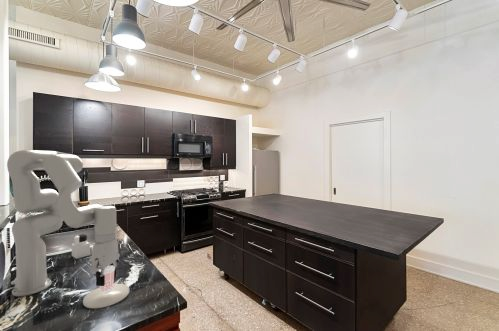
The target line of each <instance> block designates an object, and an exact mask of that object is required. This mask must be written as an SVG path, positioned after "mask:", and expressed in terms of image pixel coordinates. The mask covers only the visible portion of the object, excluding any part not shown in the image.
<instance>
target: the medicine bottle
mask: <svg viewBox="0 0 499 331" xmlns="http://www.w3.org/2000/svg"><path fill="white" fill-rule="evenodd" d="M73 240H74V242H73V243H71V256H72V257H73V258H74V259H76V260H77V259H81V258H84V257H87V256H91V243H90V242H88V235H87V234H85V233H84V234H83V233H82V234H81V233H80V234H77V235H75V236H74V239H73Z"/></svg>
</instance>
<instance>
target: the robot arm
mask: <svg viewBox="0 0 499 331" xmlns="http://www.w3.org/2000/svg"><path fill="white" fill-rule="evenodd" d="M7 159H8V160H7V163H6V166H7V171H8V174H9V176H10V179H11V182H12V183H11V184H12V192H13V202H14V207H15V210H16V212H18V213H19V214H31V213H35V212H40V211H41V212H42V213H37V214H32V215H28V216H23V217H21V218H18V219H17V220H16V221H14V222H13V224H12V226H11V232H12V235H13V240H14V244H15V256H16V258H15V261H16V267H15V268H16V277H15V278H14V280H12V281H11V282H10V284H11V285H14V288H13V289H12V290H11V295H12V296H14V297H25V296H30V295H34V294H37V293H39V292H41V291H44V290H46V289H48V288H49V287H50V286H51V285H52V280H51V279H50V278H47V277H48V274H47V272H48V271H47V245H46V243H45V241H44V240H43V239H42V238H41V237H42V236H44V235H47V234H50V233H53V232H56V231H58V230H60V229H61V227H62V225H63V222H64V224H66V225H67V226H68V227H70V228H74V229H77V228H78V229H79V228H81V227H85V226H88V225H91V224H94V243H93V245H92V249H91V268H90V273H91V274H93V276H94V277H95V285H96V287H100V286H104V285H105V275H103V274H104V270H105V268H106V267H107V266H115V270H114V278H116V277H117V267H118V263H119V259H120V257H121V254H120V253H119V243H118V236H117V234H118V233H117V231H118V230H117V208H116V206H113V205H102V204H97V203H95V204H89V205H85V206H79V207H77V206H76V204H75V203H74V200H73V199H72V194H73V193H74V192H76V191H77V190H78V189H80V188H81V186H82V184H83V181H82V179H81V178H80V176H79V175H78V173H80V172H81V171H82V170H83V168H84V167H83V166H84V163H83V160H82V159H81V157H79V156H78V155H75V154H71V153H66V152H60V151H55V150H39V149H38V150H37V149H35V150H34V149H23V150H17V151H15V152H13V153H12V154H10V156H9V157H8V158H7ZM37 170H38V171H45V172H46V174H47V175H48V177H49V178H50V180H51V182H52V184H54V186H55V188H56V189H57V190H55V189H53V188H41V184H40V183H41V182H40V179H39V178H38V176H37V175H36V174H35V173H34V172H33V171H37ZM57 191H58V192H57ZM99 269H101V272H99Z"/></svg>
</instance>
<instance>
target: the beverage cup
mask: <svg viewBox="0 0 499 331" xmlns="http://www.w3.org/2000/svg"><path fill="white" fill-rule="evenodd" d="M114 270H115V266H107V267H106V268H105V270H104V274H103V275H105V285H104V286H99V288H100V293H101V294H107V293H110V292H111V291H113V285H114V284H115V283H114V280H115V277H114ZM99 272H101V269H99Z"/></svg>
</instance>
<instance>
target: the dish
mask: <svg viewBox="0 0 499 331" xmlns="http://www.w3.org/2000/svg"><path fill="white" fill-rule="evenodd" d="M129 294H130V287H129V286H128V285H127V284H125V283H114V285H113V291H111V292H110V293H107V294H101V293H100V287H97V288H95V289H93V290H91V291H90V292H88V293H87V294H86V295H85V296H84V297H83V300H82V304H83V306H84V307H85V308H88V309H102V308H106V307H109V306H113V305H115V304H117V303H119V302H121V301H123V300H125V299H126V297H127V296H128V295H129Z"/></svg>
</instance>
